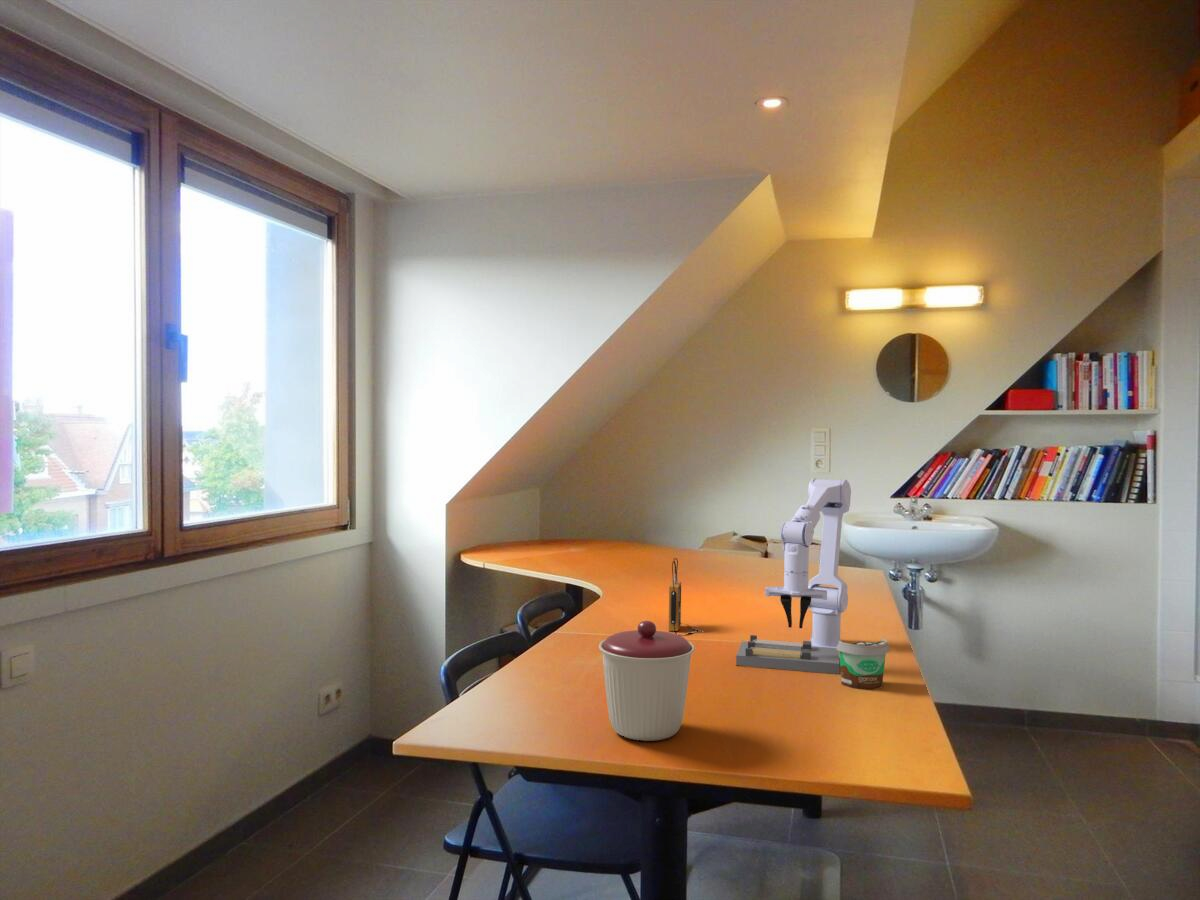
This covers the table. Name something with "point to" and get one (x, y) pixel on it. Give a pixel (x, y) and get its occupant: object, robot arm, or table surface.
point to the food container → (862, 664)
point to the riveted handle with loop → (675, 603)
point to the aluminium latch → (777, 644)
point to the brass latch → (776, 653)
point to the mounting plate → (809, 659)
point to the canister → (646, 681)
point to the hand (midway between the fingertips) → (795, 627)
